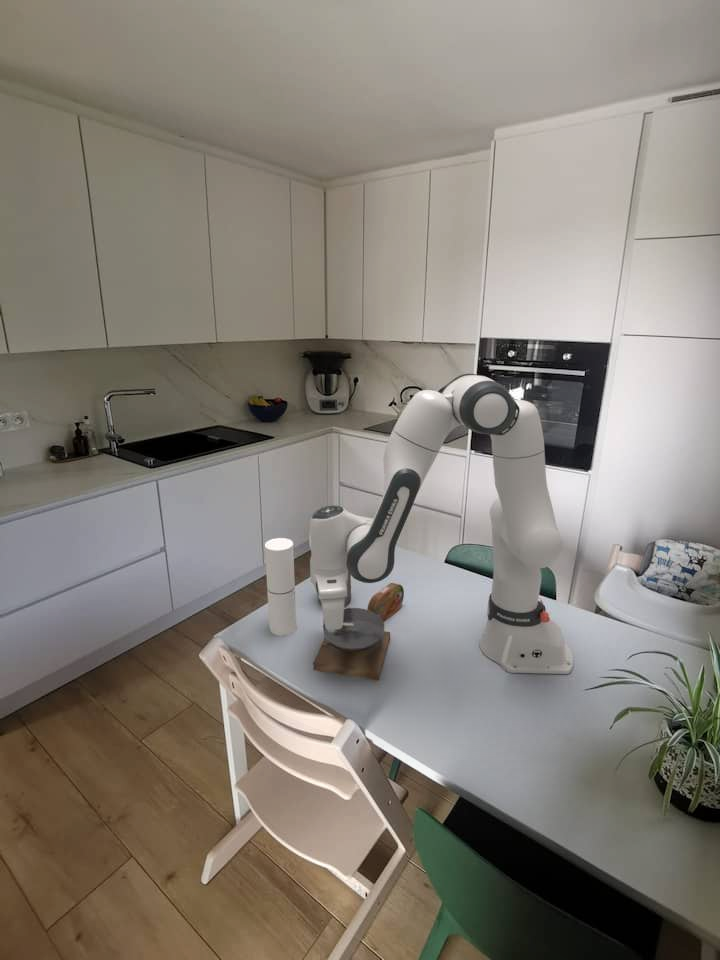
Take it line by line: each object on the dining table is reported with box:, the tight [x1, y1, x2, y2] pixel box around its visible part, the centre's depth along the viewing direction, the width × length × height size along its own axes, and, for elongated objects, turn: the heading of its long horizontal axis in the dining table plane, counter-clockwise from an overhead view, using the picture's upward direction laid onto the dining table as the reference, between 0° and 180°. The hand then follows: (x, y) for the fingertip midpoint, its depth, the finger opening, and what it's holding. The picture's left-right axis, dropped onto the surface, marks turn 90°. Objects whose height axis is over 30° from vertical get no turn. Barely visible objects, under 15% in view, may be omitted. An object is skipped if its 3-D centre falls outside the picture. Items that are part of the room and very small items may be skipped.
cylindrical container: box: [264, 537, 297, 637], centre depth 130 cm, size 7×7×25 cm
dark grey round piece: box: [322, 607, 385, 652], centre depth 122 cm, size 15×15×6 cm
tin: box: [366, 582, 405, 623], centre depth 139 cm, size 15×3×8 cm, turn 143°
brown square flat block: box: [312, 630, 391, 681], centre depth 124 cm, size 16×16×6 cm
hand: (330, 623), depth 121 cm, fingers open, 5 cm apart
